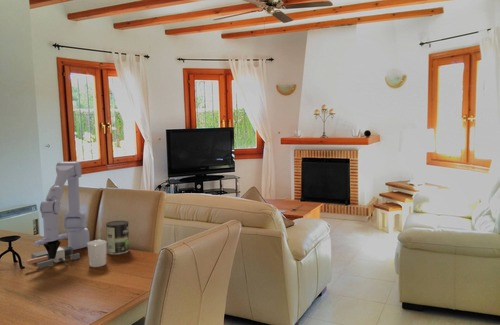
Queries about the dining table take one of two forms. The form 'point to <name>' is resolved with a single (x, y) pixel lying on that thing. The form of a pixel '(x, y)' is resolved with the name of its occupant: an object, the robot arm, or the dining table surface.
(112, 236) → the coffee can
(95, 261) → the white cup
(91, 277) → the dining table surface
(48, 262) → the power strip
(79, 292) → the dining table surface
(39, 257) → the latch
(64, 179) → the robot arm
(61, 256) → the plug
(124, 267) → the dining table surface
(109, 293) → the dining table surface
